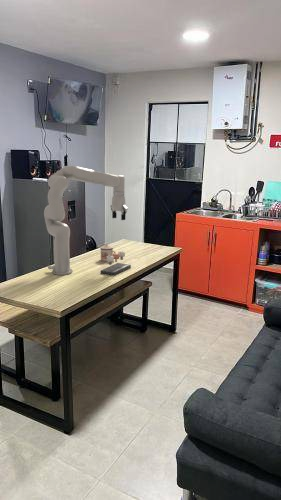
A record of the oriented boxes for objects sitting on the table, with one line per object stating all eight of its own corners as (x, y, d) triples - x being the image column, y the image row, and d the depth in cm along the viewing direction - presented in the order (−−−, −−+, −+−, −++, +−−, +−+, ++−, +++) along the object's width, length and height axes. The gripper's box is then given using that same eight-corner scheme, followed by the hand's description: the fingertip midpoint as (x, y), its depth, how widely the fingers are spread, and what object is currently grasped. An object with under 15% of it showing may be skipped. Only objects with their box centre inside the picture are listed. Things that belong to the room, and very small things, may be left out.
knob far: (122, 260, 247) (122, 252, 246) (117, 259, 249) (117, 251, 248) (126, 259, 251) (126, 251, 249) (120, 258, 253) (120, 250, 251)
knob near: (111, 265, 235) (111, 257, 234) (105, 264, 237) (105, 256, 236) (115, 264, 239) (115, 255, 237) (109, 263, 241) (109, 254, 239)
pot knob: (117, 263, 241) (117, 254, 240) (111, 262, 243) (111, 254, 242) (120, 261, 245) (120, 253, 243) (114, 260, 247) (114, 252, 245)
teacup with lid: (97, 260, 269) (97, 244, 267) (104, 257, 277) (104, 241, 274) (112, 262, 264) (112, 246, 261) (119, 259, 272) (118, 243, 269)
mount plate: (114, 275, 234) (114, 272, 233) (100, 273, 238) (100, 270, 238) (130, 267, 252) (130, 264, 251) (117, 265, 256) (117, 262, 256)
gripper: (106, 193, 259) (106, 218, 263) (122, 195, 246) (122, 221, 250) (115, 192, 264) (115, 217, 267) (131, 194, 251) (131, 220, 255)
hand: (118, 219), depth 259 cm, fingers open, 9 cm apart
